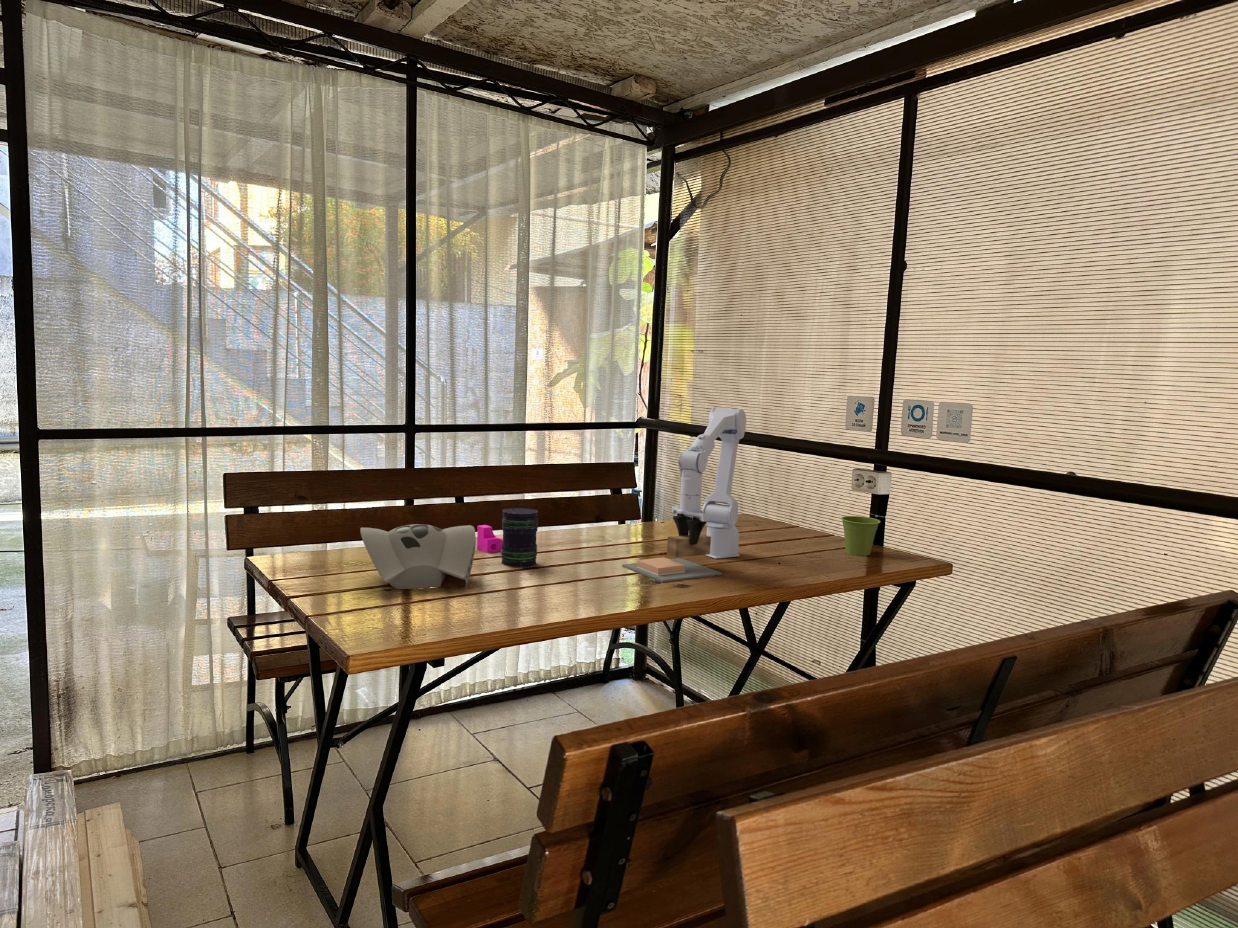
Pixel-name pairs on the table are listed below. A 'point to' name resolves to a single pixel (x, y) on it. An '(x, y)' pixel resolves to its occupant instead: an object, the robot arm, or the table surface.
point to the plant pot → (859, 534)
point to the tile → (661, 566)
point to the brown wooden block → (688, 546)
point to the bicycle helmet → (422, 555)
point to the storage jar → (519, 537)
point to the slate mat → (690, 573)
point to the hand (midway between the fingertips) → (688, 542)
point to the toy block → (488, 540)
